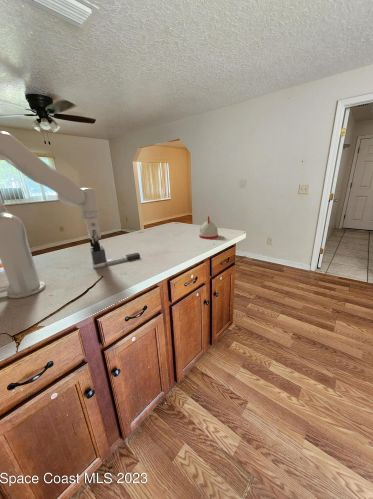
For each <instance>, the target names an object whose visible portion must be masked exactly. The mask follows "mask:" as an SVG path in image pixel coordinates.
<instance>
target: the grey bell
mask: <svg viewBox="0 0 373 499" xmlns="http://www.w3.org/2000/svg"><path fill="white" fill-rule="evenodd" d="M199 238H200V239H203V240H204V239H205V240H213V239H216V238H219V232H218V226H216V224H214V222H212V221H211V220H210V216H209V215H208V216H207V221H204V223H203V224H202V225H201V226H200V227H199Z"/></svg>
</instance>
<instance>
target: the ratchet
mask: <svg viewBox="0 0 373 499" xmlns="http://www.w3.org/2000/svg"><path fill="white" fill-rule="evenodd" d="M139 259H141V255H140V252H134V253H130V254H129V253H128V254H125V255H124V256H120V257H115V258H110V259H106V262H104V263H100V264H95V265H94V263H93V261H92V263H91V264H92V268H93V269H95V270H96V269H97V270H98V269H99V270H100V269H104V268H106V267H107V266H110V265H116V264H119V263H124V262H129V261H134V260H139Z"/></svg>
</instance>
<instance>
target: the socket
mask: <svg viewBox="0 0 373 499" xmlns="http://www.w3.org/2000/svg"><path fill="white" fill-rule="evenodd" d="M100 249H101V251H97V252H94V251H93V247H91V248H89V250H90V257H91V260H92V262H93V263H94V265H95V264H100V263H104V262H106V260H107V257H106V251H105V248H104V247H103V246H101V245H100Z"/></svg>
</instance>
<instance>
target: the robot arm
mask: <svg viewBox="0 0 373 499" xmlns="http://www.w3.org/2000/svg"><path fill="white" fill-rule="evenodd" d="M0 161H5V162H7V163H8V164H9V165H10V166H12V167H13V168H15V169H16V170H18V171H19V173H20V172H21V173H22V174H23V175H24V176H26V177H27V178H28V179H29V180H31V181H33V182H35V183H37V184H40V185H43V186H44V187H47V188H49V189H50V190H53V192H55V193H57V199H58V201H59V202H60V203H61V204H63V205H67V206H74V207H78V206H80V207H79V208H80V213H81V218H82V219H83V220H85V226H86V231H87V234H88V237H89V243H90V247H91V248H93V251H94V252H97V251H101V249H100V246H101V244H100V239H101V238H102V236H101V230H100V224H99V219H98V218H100V213H99V206H98V205H99V204H98V198H97V193H96V189H95V188H93V187H79V186H78V185H77V184H76V183H74V181H72V180H71V179H69V177H67V176H66V175H64V174H63V173H62V172H60V171H58V170H57V169H55V168H53V167H52V166H51V165H49V164H47V163H46V162H45V161H43V160H42V159H41V158H40V157H39V156H38V155H37V154H35V153H34V152H33V151H32V150H31V149H29V148H28V147H27V146H26V145H24V144H23V143H22V142H21V141H20V140H19V139H17V138H16V137H15V136H14V135H12V134H10V133H9V132H6V131H3V130H2V131H1V130H0ZM27 234H28V233H27V229H26V227H25V224H24V222H23V220H21V219H20V217H18V216H17V215H14V214H12V213H11V212H10V211H9V210H8V209H7V207H6V206H5V205H4V203H3V202H2V199H1V197H0V262H1V265H2V268H3V271H4V273H5V276H6V279H7V284H5V285H0V294H1V293H5V292H7V293H6V294H7V297H8V298H10V299H21V298H22V299H23V298H26V297H30V296H32V295H35V294H38V293H39V292H41V291H42V290H44V288H46V282H44V281H42V280H40V278H39V274H38V270H37V268H36V264H35V261H34V258H33V255H32V252H31V249H30V244H29V241H28V235H27Z"/></svg>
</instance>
